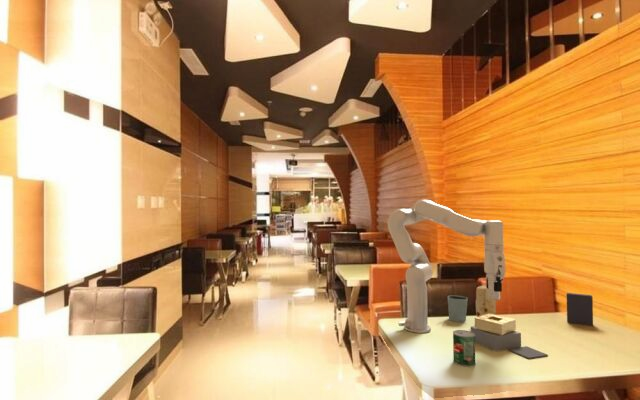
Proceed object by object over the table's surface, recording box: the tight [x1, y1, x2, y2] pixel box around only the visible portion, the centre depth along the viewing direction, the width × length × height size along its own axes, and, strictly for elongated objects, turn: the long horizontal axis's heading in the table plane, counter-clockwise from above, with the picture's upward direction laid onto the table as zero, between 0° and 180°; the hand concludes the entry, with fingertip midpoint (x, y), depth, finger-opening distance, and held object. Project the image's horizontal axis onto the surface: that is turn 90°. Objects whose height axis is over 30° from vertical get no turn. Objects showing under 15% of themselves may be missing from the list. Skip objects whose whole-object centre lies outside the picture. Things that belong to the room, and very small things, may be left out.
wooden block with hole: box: [474, 314, 517, 335], centre depth 163 cm, size 14×12×4 cm
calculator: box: [566, 292, 594, 327], centre depth 194 cm, size 11×4×15 cm, turn 58°
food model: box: [475, 285, 497, 317], centre depth 188 cm, size 10×7×20 cm
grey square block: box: [470, 325, 522, 352], centre depth 163 cm, size 14×14×6 cm
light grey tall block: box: [488, 273, 501, 301], centre depth 164 cm, size 4×4×11 cm
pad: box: [507, 345, 549, 360], centre depth 151 cm, size 10×10×1 cm
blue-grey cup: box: [447, 294, 469, 323], centre depth 200 cm, size 10×10×12 cm
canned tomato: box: [452, 329, 477, 368], centre depth 142 cm, size 8×8×11 cm
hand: (493, 289), depth 164 cm, fingers closed on light grey tall block, 5 cm apart
